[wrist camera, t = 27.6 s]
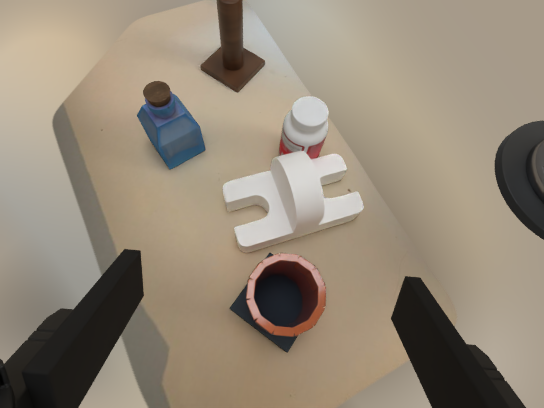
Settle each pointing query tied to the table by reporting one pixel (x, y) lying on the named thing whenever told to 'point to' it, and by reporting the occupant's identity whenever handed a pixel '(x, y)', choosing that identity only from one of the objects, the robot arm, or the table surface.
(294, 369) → the table surface
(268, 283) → the mat
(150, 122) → the perfume bottle
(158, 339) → the table surface
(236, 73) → the stand
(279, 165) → the white slotted bracket
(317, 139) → the pill bottle
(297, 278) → the orange hollow cylinder
